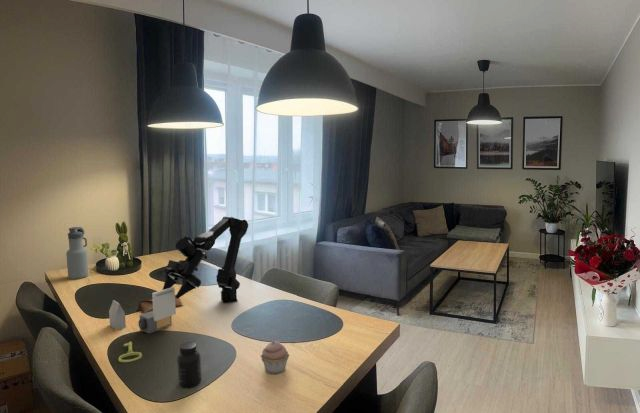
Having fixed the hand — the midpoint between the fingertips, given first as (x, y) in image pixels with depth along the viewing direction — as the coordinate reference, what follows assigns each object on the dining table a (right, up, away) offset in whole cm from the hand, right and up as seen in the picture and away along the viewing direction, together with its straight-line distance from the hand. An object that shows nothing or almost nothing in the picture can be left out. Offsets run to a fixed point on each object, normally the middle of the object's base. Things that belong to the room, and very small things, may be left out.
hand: (169, 295), depth 163 cm
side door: (-1, -8, -1) cm, 8 cm away
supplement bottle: (+20, -18, -38) cm, 47 cm away
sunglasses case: (-12, -11, +22) cm, 27 cm away
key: (-6, -16, -21) cm, 27 cm away
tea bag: (-22, -13, +2) cm, 25 cm away
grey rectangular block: (-6, -13, 0) cm, 14 cm away
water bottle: (-75, -4, +66) cm, 100 cm away
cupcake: (+45, -17, -31) cm, 57 cm away
